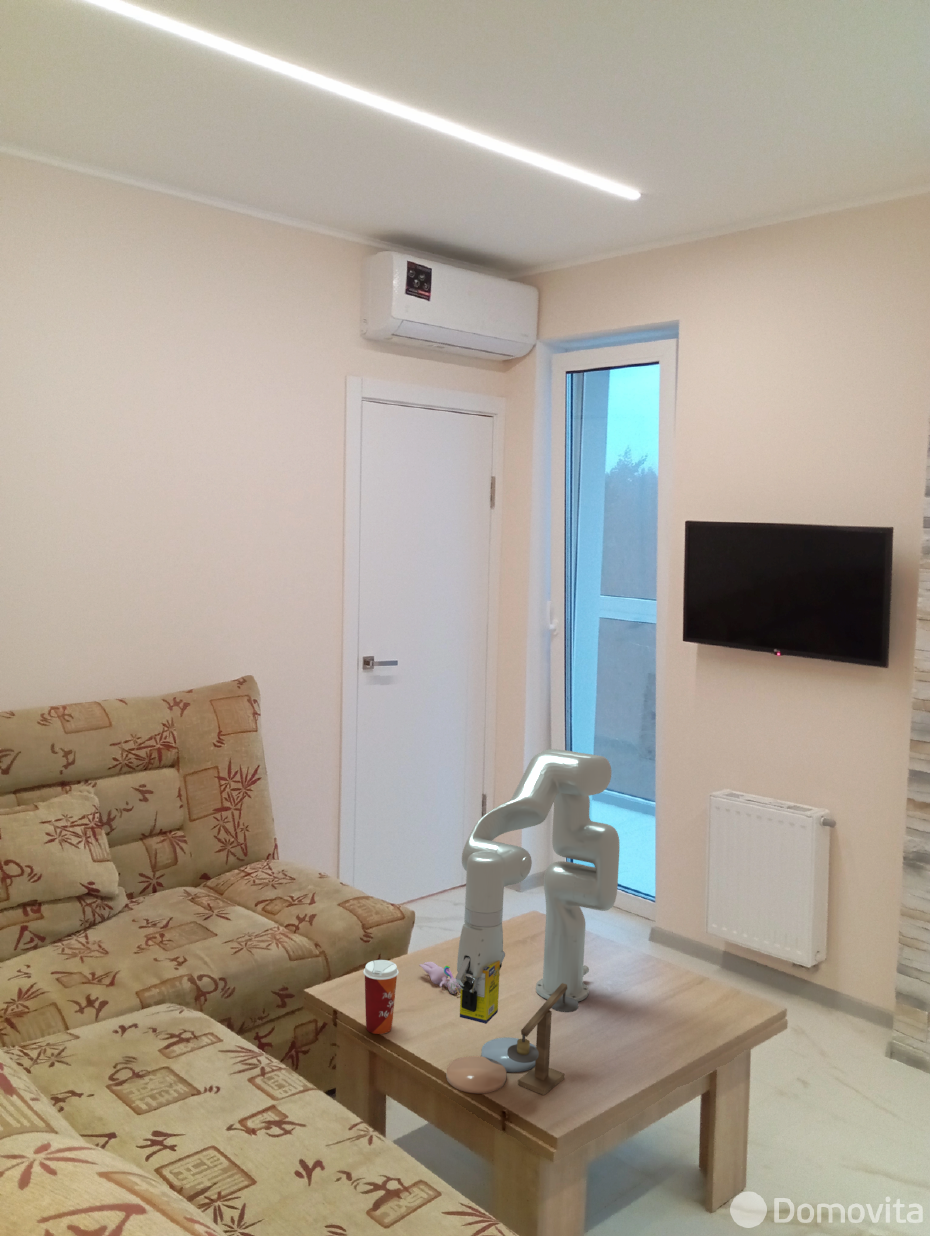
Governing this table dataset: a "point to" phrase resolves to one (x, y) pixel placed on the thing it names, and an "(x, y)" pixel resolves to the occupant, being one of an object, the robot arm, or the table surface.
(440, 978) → the lilac plush figure
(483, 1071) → the peach flat disc
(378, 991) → the paper cup
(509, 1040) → the blue-grey flat disc
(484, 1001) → the supplement box
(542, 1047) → the balance
